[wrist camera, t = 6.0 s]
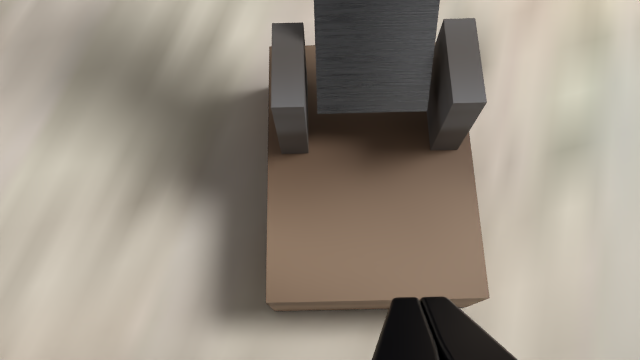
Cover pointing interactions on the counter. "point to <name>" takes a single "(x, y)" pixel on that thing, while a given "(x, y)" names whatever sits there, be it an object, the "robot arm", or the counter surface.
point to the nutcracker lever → (374, 55)
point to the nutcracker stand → (373, 186)
